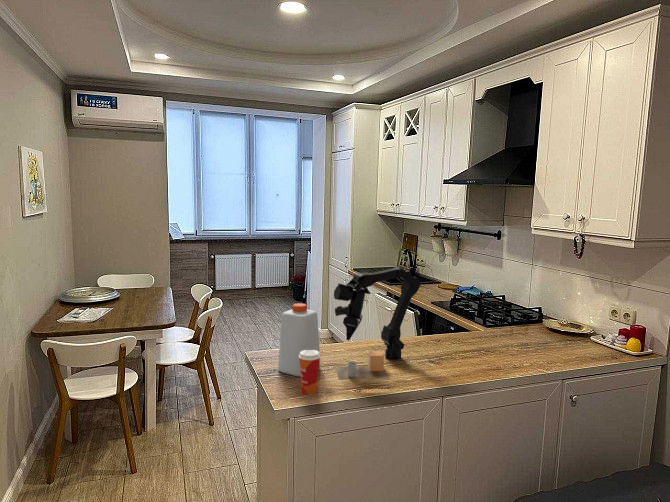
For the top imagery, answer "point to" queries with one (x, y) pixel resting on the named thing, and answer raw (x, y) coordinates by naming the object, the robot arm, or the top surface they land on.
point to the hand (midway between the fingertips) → (349, 338)
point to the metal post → (351, 370)
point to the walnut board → (361, 373)
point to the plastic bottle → (297, 337)
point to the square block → (376, 361)
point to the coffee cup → (309, 371)
